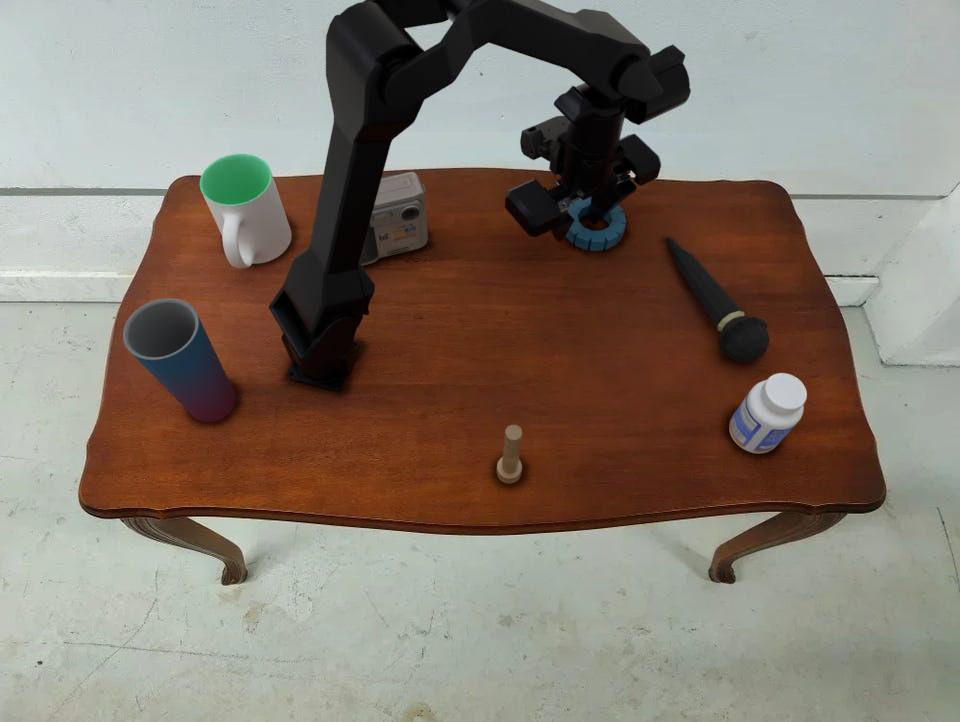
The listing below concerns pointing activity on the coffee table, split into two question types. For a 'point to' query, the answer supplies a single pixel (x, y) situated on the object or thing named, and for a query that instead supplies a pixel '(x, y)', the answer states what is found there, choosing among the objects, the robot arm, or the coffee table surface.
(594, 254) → the coffee table surface
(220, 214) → the mug
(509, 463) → the beige peg
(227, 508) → the coffee table surface
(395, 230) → the camera
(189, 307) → the cup
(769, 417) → the pill bottle
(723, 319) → the microphone
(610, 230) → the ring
